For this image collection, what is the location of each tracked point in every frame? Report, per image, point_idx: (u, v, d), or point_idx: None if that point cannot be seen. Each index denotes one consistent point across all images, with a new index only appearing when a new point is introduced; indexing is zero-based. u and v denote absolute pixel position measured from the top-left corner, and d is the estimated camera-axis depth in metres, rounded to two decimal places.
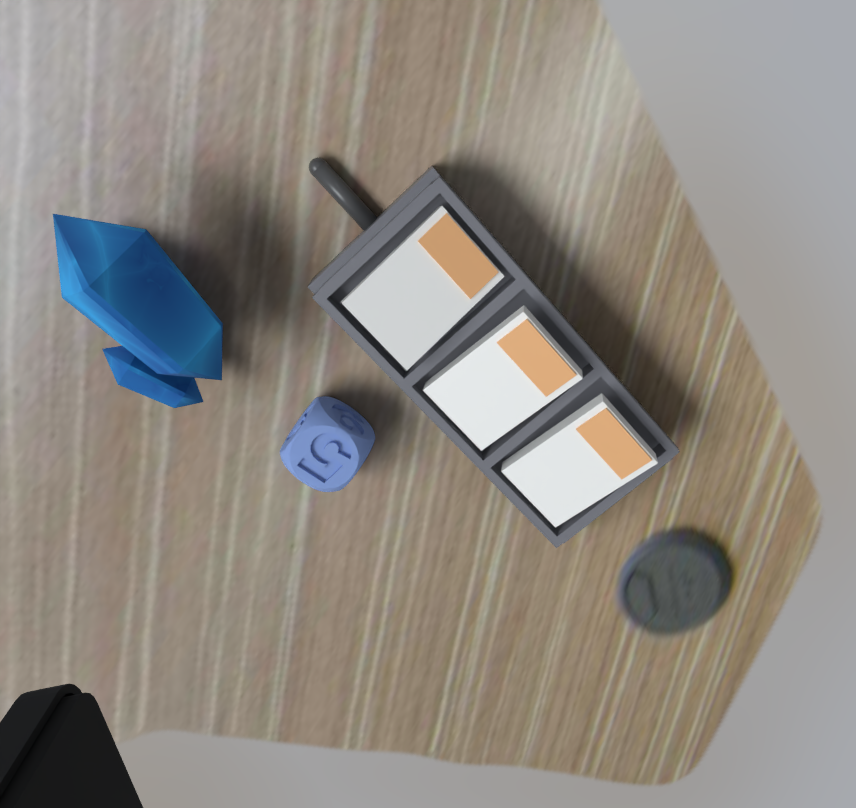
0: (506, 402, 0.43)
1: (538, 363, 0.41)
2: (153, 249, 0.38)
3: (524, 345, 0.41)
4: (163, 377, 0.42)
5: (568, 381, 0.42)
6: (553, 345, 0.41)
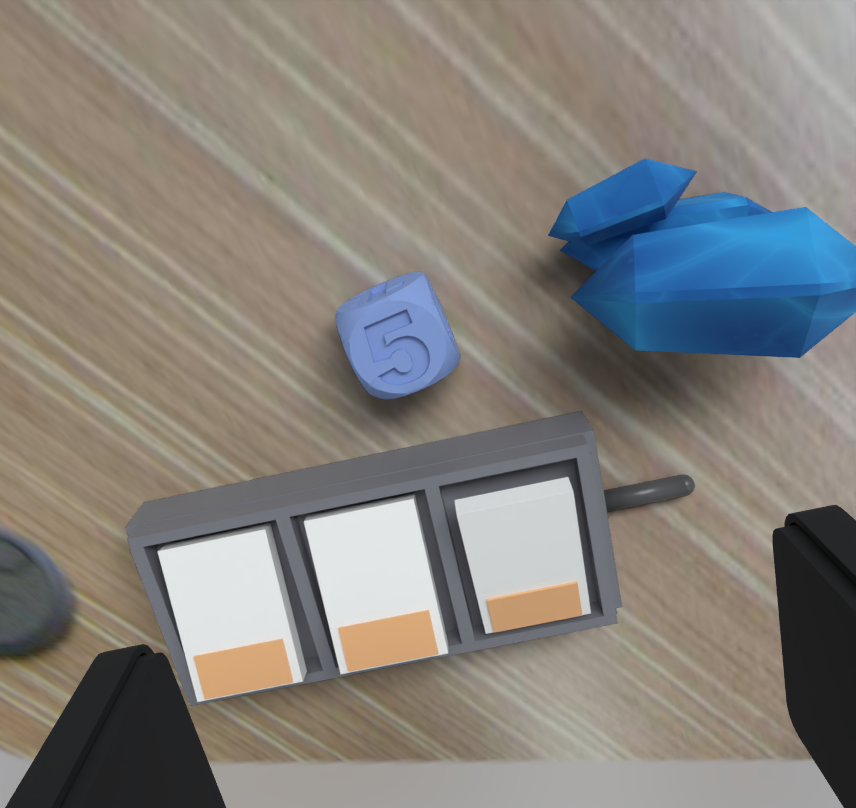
0: (351, 581, 0.34)
1: (383, 641, 0.34)
2: (776, 353, 0.29)
3: (409, 635, 0.34)
4: (616, 225, 0.30)
5: (344, 659, 0.35)
6: (393, 663, 0.35)
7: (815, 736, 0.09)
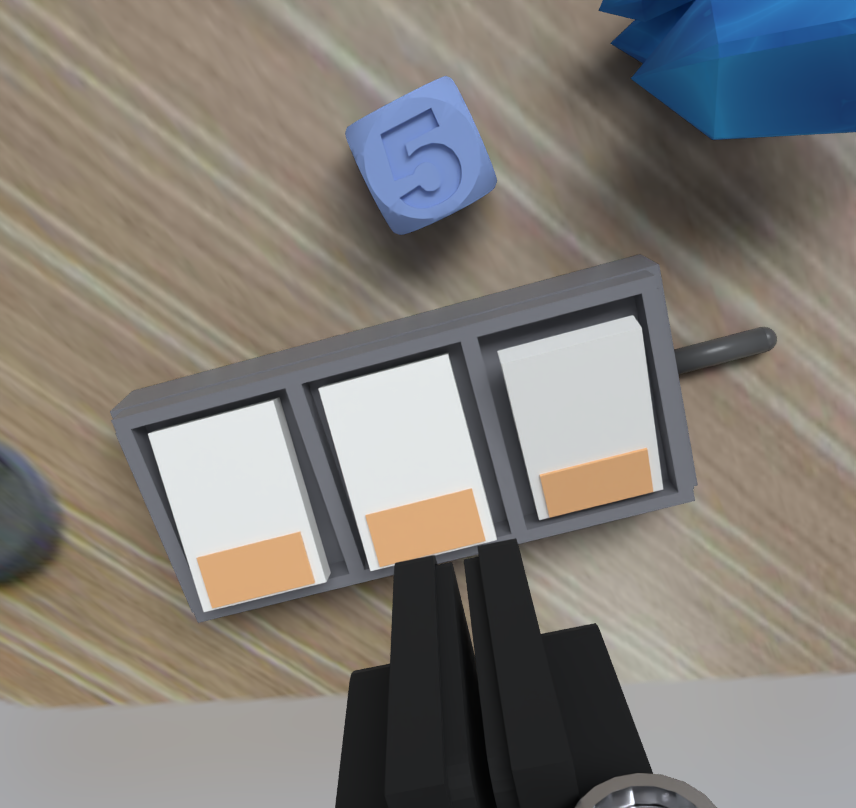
0: (378, 459, 0.29)
1: (418, 528, 0.29)
2: None
3: (449, 521, 0.29)
4: None
5: (374, 552, 0.29)
6: (432, 554, 0.29)
7: None
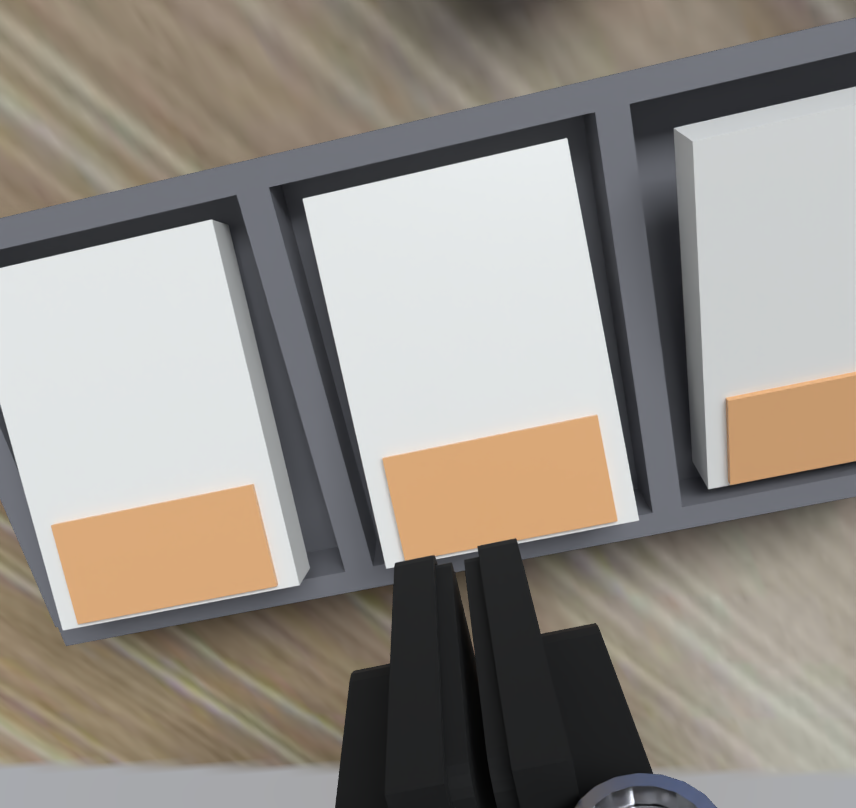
0: (414, 347, 0.15)
1: (486, 488, 0.15)
2: None
3: (548, 477, 0.15)
4: None
5: (396, 532, 0.15)
6: None
7: None
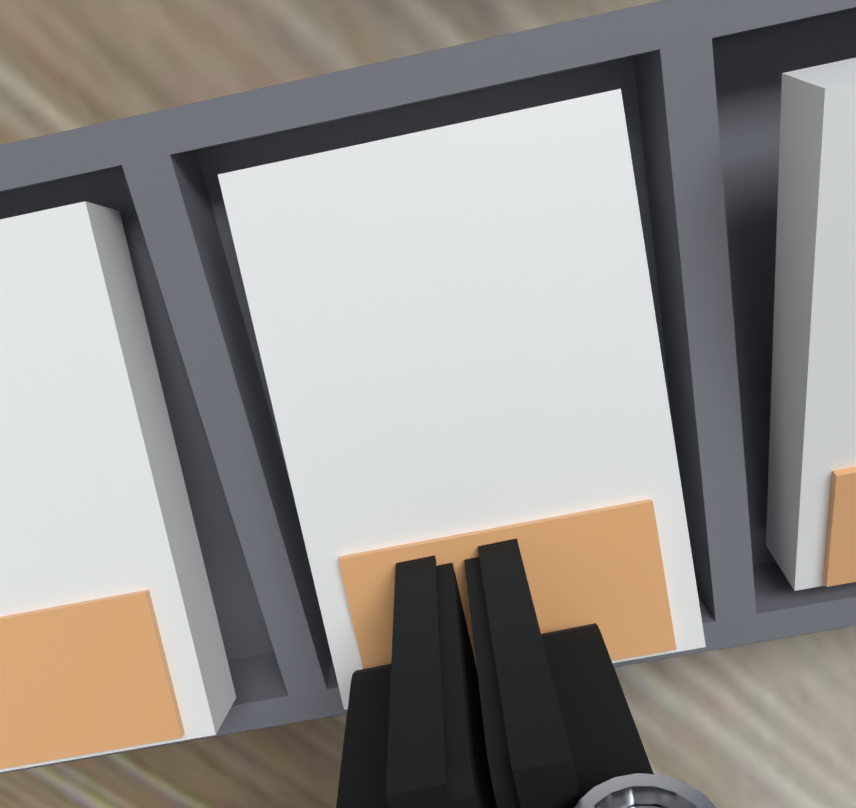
0: (387, 399, 0.10)
1: None
2: None
3: (578, 586, 0.10)
4: None
5: (358, 661, 0.10)
6: None
7: None
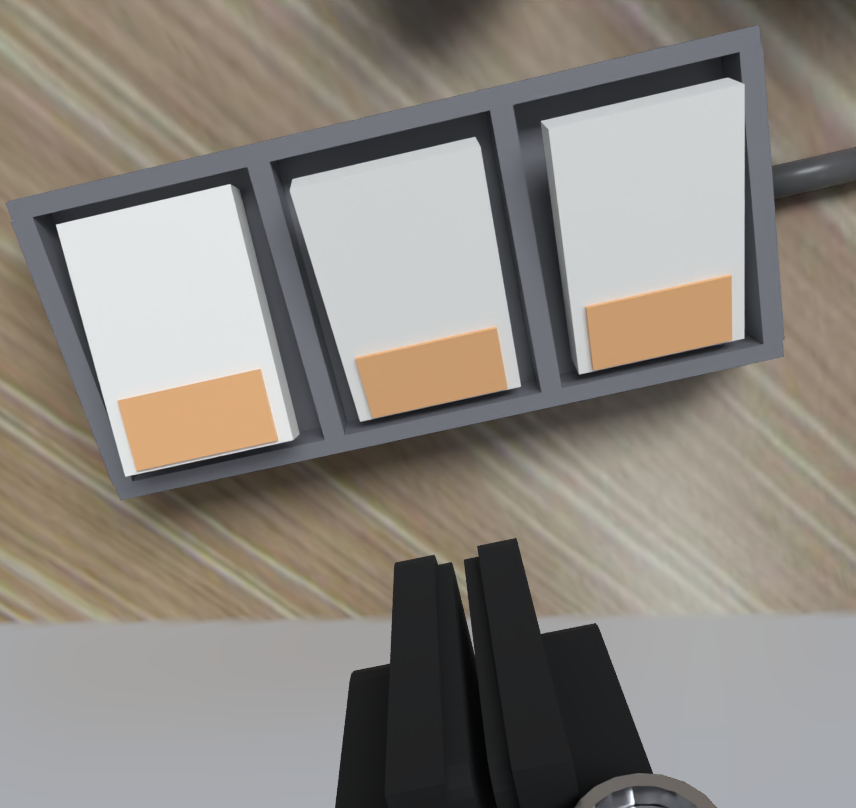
0: (374, 288, 0.21)
1: (424, 374, 0.23)
2: None
3: (464, 364, 0.23)
4: None
5: (366, 401, 0.23)
6: None
7: None
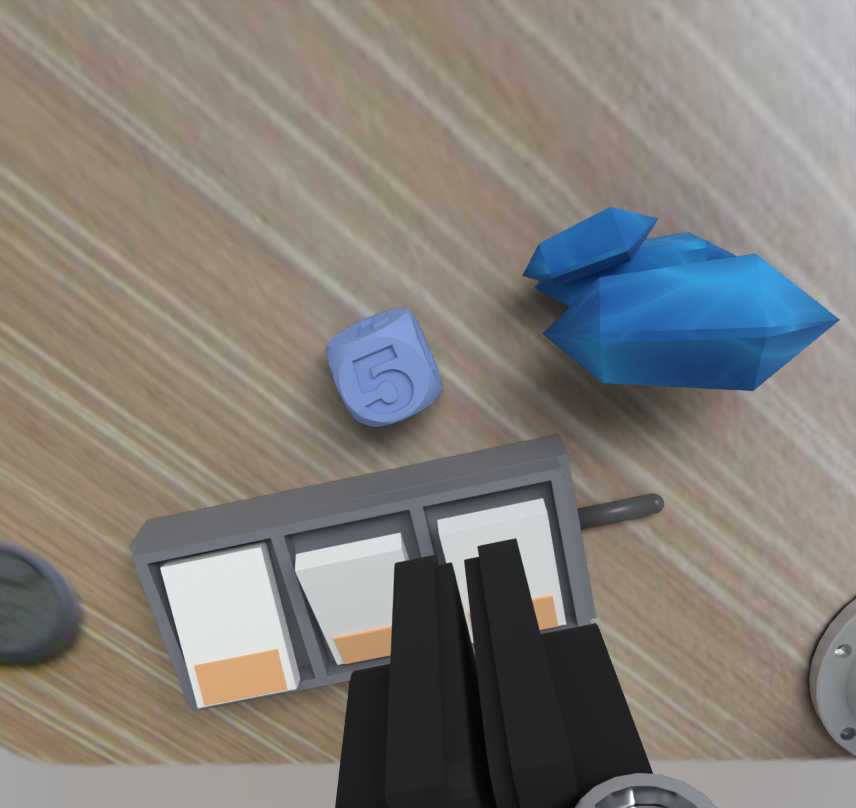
0: (344, 608, 0.37)
1: (375, 643, 0.38)
2: (731, 386, 0.31)
3: None
4: (584, 268, 0.32)
5: (340, 656, 0.39)
6: None
7: None
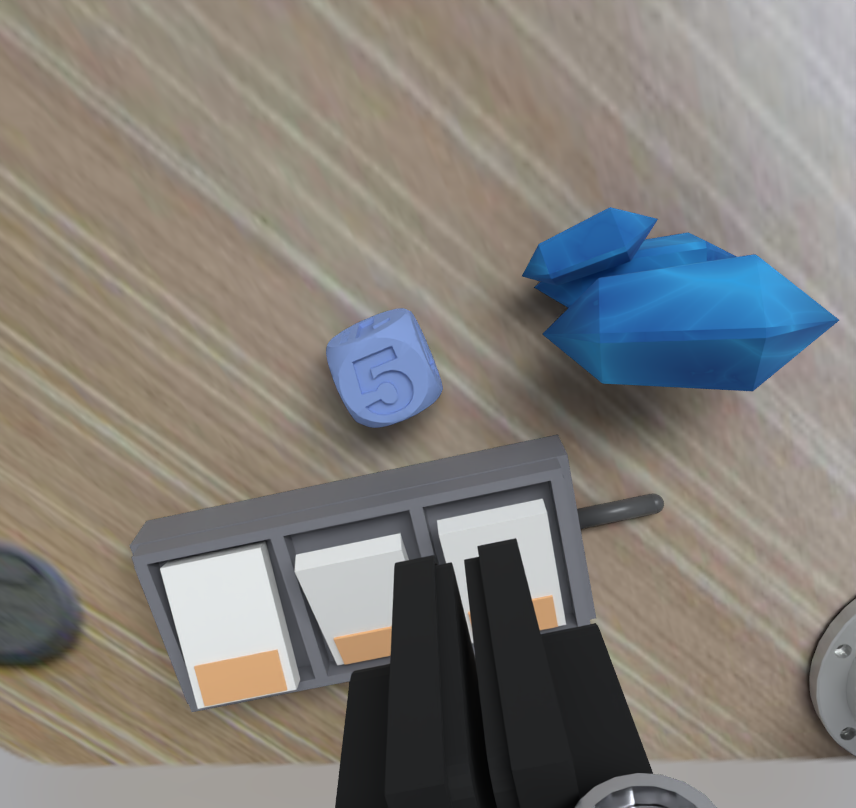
0: (344, 608, 0.37)
1: (374, 644, 0.38)
2: (730, 387, 0.31)
3: None
4: (584, 268, 0.32)
5: (340, 656, 0.39)
6: None
7: None
